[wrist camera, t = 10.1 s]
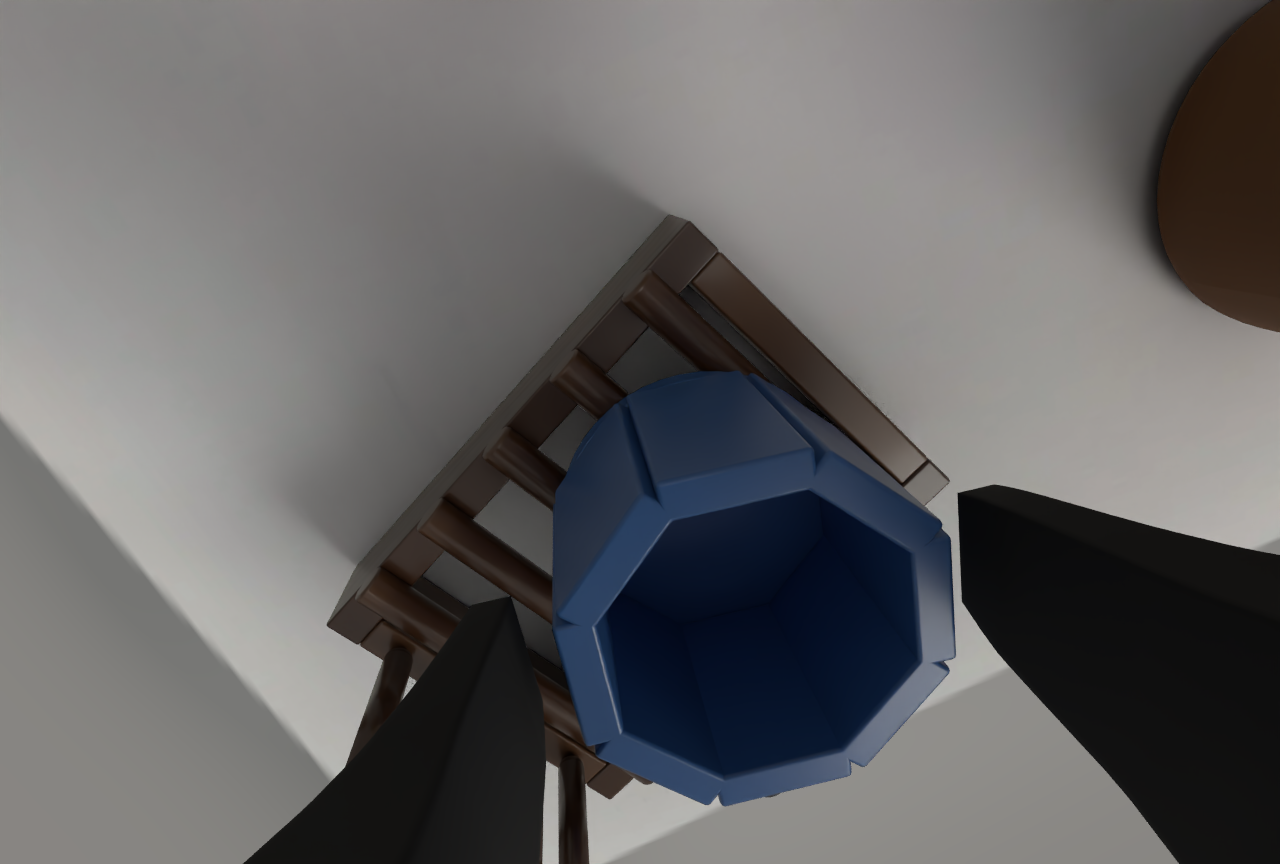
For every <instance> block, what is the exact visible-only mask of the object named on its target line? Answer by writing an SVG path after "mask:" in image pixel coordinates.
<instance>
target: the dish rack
mask: <svg viewBox="0 0 1280 864" xmlns="http://www.w3.org/2000/svg"><path fill="white" fill-rule="evenodd" d="M687 285H689V286H690V287H691V288H692V289H693V290H694V291H696V292H697V293H698V294H699V295H700V296H701V297H702V298H703V299H704V300H705V301H706V302H707V303H708V304H709V305H710V306H711V307H712V308H713V309H714V310H715V311H716V312H717V313H719V314H720V315H721V316H722V317H723V318H724V319H725V320H726V321H727V322H728V323H729V324H730V325H731V326H732V327H733V328H734V329H735V330H736V331H737V332H738V333H739V334H741V335H742V336H743V337H744V338H745V339H746V340H747V341H748V342H749V343H750V344H751V345H752V346H753V347H754V348H755V349H756V350H757V351H758V352H759V353H760V354H761V355H763V356H764V357H765V358H766V359H767V360H768V361H769V362H770V363H771V364H772V365H773V366H774V367H775V368H776V369H777V370H778V371H779V372H780V373H781V374H782V375H783V376H784V377H786V378H787V379H788V380H789V381H790V382H791V383H792V384H793V385H794V386H795V387H796V388H797V389H798V390H799V391H800V392H801V393H802V394H803V395H804V396H805V397H806V398H808V399H809V400H810V401H811V402H812V403H813V404H814V405H815V406H816V407H817V408H818V409H819V410H820V411H821V412H822V413H823V414H824V415H825V416H826V417H827V418H828V419H830V420H831V421H832V422H833V423H834V424H835V425H836V426H837V427H838V428H839V429H840V430H841V431H842V432H843V433H844V434H845V435H846V436H847V437H848V438H849V439H850V440H851V441H853V442H854V443H855V444H856V445H857V446H858V447H859V448H860V449H861V450H862V451H863V452H864V453H865V454H866V455H868V456H869V457H870V458H871V459H872V460H873V461H874V462H875V463H876V464H878V465H879V466H880V467H881V468H882V469H883V470H884V471H885V472H887V473H888V474H889V475H890V476H891V477H892V478H893V479H894V480H896V481H897V482H898V483H899V484H900V485H901V486H902V487H903V488H905V489H906V490H907V491H908V492H909V493H910V494H911V495H912V496H913V497H915V498H916V499H917V500H918V501H919V502H920V503H921V504H922V505H924V506H925V505H926V504H927V503H928V502H929V501H930V500H931V499H932V498H934V497H935V496H936V495H937V494H938V493H939V492H940V491H941V490H942V489H943V488H944V487H945V486H946V485H947V484H949V482H950V480H949V478H948V477H947V476H946V475H945V474H944V473H943V472H942V471H941V470H940V469H939V468H938V467H937V466H936V465H935V464H934V463H933V462H932V461H931V460H929V459H928V458H927V457H926V455H925V454H924V453H923V452H922V451H921V450H920V449H919V448H918V447H917V446H916V445H915V444H914V443H913V442H912V441H911V440H910V439H909V438H908V437H907V436H905V435H904V434H903V433H902V432H901V431H900V430H899V429H898V428H897V427H896V426H895V425H894V424H893V423H892V422H891V421H890V420H889V419H888V418H887V417H886V416H885V415H884V414H883V413H882V412H881V411H880V410H879V409H878V408H877V407H876V406H875V405H874V404H873V403H872V402H871V401H870V400H869V399H868V398H867V397H866V396H865V395H864V394H863V393H862V392H861V391H860V390H859V389H858V388H857V387H856V386H855V385H854V384H853V383H852V382H851V381H850V380H849V379H848V378H847V377H846V376H845V375H844V374H843V373H842V372H841V371H840V370H839V369H838V368H837V367H836V366H835V365H834V364H833V363H832V362H831V361H830V360H829V359H828V358H827V357H826V356H825V355H824V354H823V353H822V352H821V351H820V350H819V349H818V348H817V347H816V346H815V345H814V344H813V343H812V342H811V341H810V340H809V339H808V338H807V337H806V336H805V335H804V334H803V333H802V332H801V331H800V330H799V329H798V328H797V327H796V326H795V325H794V324H793V323H792V322H791V321H790V320H789V319H788V318H787V317H786V316H785V315H784V314H783V313H782V312H781V311H780V310H779V309H778V308H777V307H776V306H775V305H774V304H773V303H772V302H771V301H770V300H769V299H768V298H767V297H766V296H765V295H764V294H763V293H762V292H761V291H760V290H759V289H758V288H757V287H756V286H755V285H754V284H753V283H752V282H751V281H750V280H749V279H748V278H747V277H746V276H745V275H744V274H743V273H742V272H741V271H740V270H739V269H738V268H737V267H736V266H735V265H734V264H733V263H732V262H731V261H730V260H729V259H728V258H727V257H726V256H725V255H724V254H723V253H721V252H719V251H718V249H717V247H716V246H715V245H714V244H713V243H712V242H711V241H710V240H709V239H708V238H707V237H706V236H705V235H704V234H703V233H702V232H701V231H700V230H699V229H698V228H697V227H696V226H695V225H694V224H693V223H692V222H690V221H687V220H684V219H681V218H678V217H675V216H672V215H668V216H667V217H666V218H665V220H664V221H663V222H662V223H661V224H660V225H659V226H658V227H657V229H656V230H655V231H654V232H653V233H652V234H651V235H650V236H649V238H648V239H647V240H646V241H645V242H644V243H643V244H642V245H641V247H640V248H639V249H638V250H637V251H636V252H635V253H634V254H633V256H632V257H631V258H630V259H629V260H628V261H627V262H626V263H625V265H624V266H623V267H622V268H621V269H620V270H619V271H618V272H617V274H616V275H615V276H614V277H613V278H612V279H611V280H610V281H609V283H608V284H607V285H606V286H605V287H604V288H603V289H602V290H601V292H600V293H599V294H598V295H597V296H596V297H595V298H594V299H593V301H592V302H591V303H590V304H589V305H588V306H587V307H586V308H585V310H584V311H583V312H582V313H581V314H580V315H579V316H578V317H577V319H576V320H575V321H574V322H573V323H572V324H571V325H570V326H569V328H568V329H567V330H566V331H565V332H564V333H563V334H562V335H561V337H560V338H559V339H558V340H557V341H556V342H555V343H554V345H553V346H552V347H551V348H550V349H549V350H548V351H547V352H546V354H545V355H544V356H543V357H542V358H541V359H540V360H539V361H538V363H537V364H536V365H535V366H534V367H533V368H532V369H531V370H530V372H529V373H528V374H527V375H526V376H525V377H524V378H523V379H522V381H521V382H520V383H519V384H518V385H517V386H516V387H515V388H514V390H513V391H512V392H511V393H510V394H509V395H508V396H507V397H506V399H505V400H504V401H503V402H502V403H501V404H500V405H499V406H498V408H497V409H496V410H495V411H494V412H493V413H492V414H491V415H490V417H489V418H488V419H487V420H486V421H485V422H484V423H483V424H482V426H481V427H480V428H479V429H478V430H477V431H476V432H475V433H474V435H473V436H472V437H471V438H470V439H469V440H468V441H467V442H466V444H465V445H464V446H463V447H462V448H461V449H460V450H459V451H458V453H457V454H456V455H455V456H454V457H453V458H452V459H451V460H450V462H449V463H448V464H447V465H446V466H445V467H444V468H443V469H442V471H441V472H440V473H439V474H438V475H437V476H436V477H435V478H434V480H433V481H432V482H431V483H430V484H429V485H428V486H427V487H426V489H425V490H424V491H423V492H422V493H421V494H420V495H419V497H418V498H417V499H416V500H415V501H414V502H413V503H412V504H411V506H410V507H409V508H408V509H407V510H406V511H405V512H404V513H403V515H402V516H401V517H400V518H399V519H398V520H397V521H396V522H395V524H394V525H393V526H392V527H391V528H390V529H389V530H388V531H387V533H386V534H385V535H384V536H383V537H382V538H381V539H380V540H379V542H378V543H377V544H376V545H375V546H374V547H373V548H372V549H371V551H370V552H369V553H368V554H367V555H366V556H365V557H364V558H363V560H362V561H361V562H360V563H359V564H358V565H357V566H356V568H355V570H354V572H353V574H352V576H351V578H350V580H349V582H348V584H347V585H346V587H345V589H344V591H343V593H342V595H341V597H340V599H339V601H338V603H337V605H336V607H335V609H334V611H333V613H332V615H331V617H330V619H329V621H328V623H327V626H328V627H329V628H331V629H332V630H334V631H336V632H337V633H339V634H341V635H342V636H344V637H345V638H347V639H349V640H350V641H352V642H354V643H355V644H359V643H360V645H361V647H363V648H364V649H366V650H368V651H369V652H371V653H372V654H374V655H376V656H377V657H379V658H381V659H382V660H383V662H382V665H381V668H380V671H379V673H378V676H377V679H376V682H375V685H374V687H373V690H372V693H371V696H370V699H369V702H368V704H367V707H366V710H365V713H364V716H363V718H362V721H361V724H360V727H359V730H358V732H357V735H356V738H355V741H354V744H353V747H352V749H351V752H350V755H349V758H348V761H347V763H346V766H347V765H348V764H349V762H350V761H351V760H352V759H353V758H354V757H355V756H356V755H357V754H358V753H359V752H360V750H361V749H362V748H363V747H364V746H365V745H366V744H367V743H368V741H369V740H370V739H371V738H372V737H373V735H374V734H375V733H376V732H377V730H378V729H379V728H380V727H381V726H382V724H383V723H384V722H385V721H386V720H387V718H388V717H389V716H390V715H391V713H392V712H393V711H394V710H395V709H396V707H397V706H398V705H399V704H400V702H401V701H402V699H403V696H404V692H405V689H406V685H407V682H408V679H409V676H410V677H411V678H413V679H415V680H416V681H418V679H419V678H420V677H421V675H422V674H423V673H424V671H425V670H426V669H427V667H428V666H429V664H430V663H431V662H432V660H433V659H434V658H435V656H436V655H437V654H438V652H439V651H440V649H441V648H442V647H443V645H444V644H445V642H446V641H447V639H448V638H449V637H450V635H451V634H452V632H453V631H454V630H455V628H456V627H457V625H458V624H459V622H460V621H461V620H462V618H463V617H464V615H465V614H466V613H467V611H468V610H469V608H468V607H466V606H465V605H463V604H462V603H460V602H459V601H457V600H456V599H454V598H453V597H451V596H450V595H448V594H447V593H445V592H444V591H442V590H441V589H439V588H438V587H436V586H435V585H433V584H432V583H430V582H429V581H427V580H426V579H424V578H423V577H421V576H422V575H423V574H424V573H425V571H426V570H427V569H428V568H429V567H430V566H431V565H432V564H433V563H434V562H435V561H436V559H437V558H438V557H439V556H440V555H441V554H442V553H443V552H444V551H446V552H448V553H449V554H451V555H452V556H454V557H455V558H457V559H458V560H459V561H461V562H462V563H464V564H465V565H467V566H468V567H470V568H471V569H472V570H474V571H475V572H477V573H478V574H480V575H481V576H483V577H484V578H485V579H487V580H488V581H490V582H491V583H493V584H494V585H496V586H497V587H498V588H500V589H501V590H503V591H504V592H506V593H507V594H508V595H510V596H511V597H513V598H514V599H516V600H517V601H519V602H520V603H521V604H523V605H524V606H526V607H527V608H529V609H530V610H532V611H533V612H534V613H536V614H537V615H539V616H540V617H542V618H543V619H545V620H546V621H547V622H549V623H550V624H552V579H553V577H552V576H551V575H549V574H548V573H546V572H545V571H544V570H542V569H541V568H540V567H538V566H537V565H535V564H534V563H533V562H531V561H530V560H528V559H527V558H526V557H524V556H523V555H521V554H520V553H519V552H517V551H516V550H515V549H513V548H512V547H510V546H509V545H508V544H506V543H505V542H503V541H502V540H501V539H499V538H498V537H496V536H495V535H494V534H492V533H491V532H490V531H488V530H487V529H485V528H484V527H483V526H481V525H480V524H478V523H477V522H476V521H474V520H473V519H474V518H475V517H476V516H477V515H478V514H479V512H480V511H481V510H482V509H483V508H484V507H485V506H486V505H487V504H488V503H489V501H490V500H491V499H492V498H493V497H494V496H495V495H496V494H497V493H498V492H499V491H500V489H501V488H502V487H503V486H504V485H505V484H506V483H507V482H508V481H509V480H511V481H513V482H514V483H515V484H516V485H518V486H519V487H520V488H522V489H523V490H524V491H526V492H527V493H528V494H530V495H531V496H532V497H534V498H535V499H536V500H538V501H539V502H540V503H542V504H543V505H544V506H546V507H547V508H548V509H550V510H551V511H552V512H553V505H554V504H555V493H556V490H557V488H558V487H559V485H560V484H561V482H562V481H563V479H564V478H565V476H566V474H567V471H566V470H564V469H563V468H562V467H560V466H559V465H558V464H557V463H555V462H554V461H553V460H552V459H550V458H549V457H548V456H546V455H545V454H544V453H543V452H541V451H540V450H539V449H538V448H539V447H540V446H541V445H542V444H543V442H544V441H545V440H546V439H547V438H548V437H549V436H550V435H551V434H552V433H553V431H554V430H555V429H556V428H557V427H558V426H559V425H560V424H561V423H562V422H563V421H564V419H565V418H566V417H567V416H568V415H569V414H570V413H571V412H572V411H573V410H574V409H575V407H576V406H577V405H578V406H580V407H581V408H582V409H583V410H584V411H586V412H587V413H588V414H589V415H590V416H592V417H593V418H594V419H595V420H597V421H598V420H599V419H600V418H601V417H602V416H603V415H604V414H605V413H606V412H607V411H608V410H609V409H610V408H612V407H613V405H614V404H616V403H618V402H619V401H621V400H622V399H623V398H625V397H627V396H628V395H629V393H628V392H627V391H626V390H624V389H623V388H622V387H621V386H620V385H619V384H617V383H616V382H615V381H614V380H613V379H612V378H610V377H609V376H608V375H607V372H608V371H609V370H610V369H611V368H612V367H613V366H614V365H615V364H616V363H617V362H618V360H619V359H620V358H621V357H622V356H623V355H624V354H625V353H626V352H627V351H628V349H629V348H630V347H631V346H632V345H633V344H634V343H635V342H636V341H637V340H638V339H639V337H640V336H641V335H642V334H643V333H644V332H645V331H646V330H647V329H648V328H649V327H650V328H651V329H652V330H653V331H654V332H655V333H656V334H657V335H658V336H660V337H661V338H662V339H663V340H664V341H665V342H666V343H667V344H668V345H669V346H671V347H672V348H673V349H674V350H675V351H676V352H677V353H678V354H679V355H680V356H682V357H683V358H684V359H685V360H686V361H687V362H688V363H689V364H690V365H691V366H693V367H694V368H695V369H696V370H697V371H698V372H700V371H722V372H732V371H736V370H737V371H740V372H741V373H742V374H743V375H747V376H748V375H749V374H751V373H754V374H756V375H758V376H759V377H761V378H762V379H764V380H765V381H767V382H768V383H770V384H772V385H774V384H773V383H772V382H770V381H769V380H768V379H767V378H766V377H765V376H764V375H763V374H762V373H761V372H760V371H759V370H758V369H757V368H756V367H755V366H754V365H752V364H751V363H750V362H749V361H748V360H747V359H746V358H745V357H744V356H743V355H742V354H741V353H740V352H739V351H738V350H737V349H735V348H734V347H733V346H732V345H731V344H730V343H729V342H728V341H727V340H726V339H725V338H724V337H723V336H722V335H721V334H720V333H719V332H717V331H716V330H715V329H714V328H713V327H712V326H711V325H710V324H709V323H708V322H707V321H706V320H705V319H704V318H703V317H702V316H701V315H699V314H698V313H697V312H696V311H695V310H694V309H693V308H692V307H691V306H690V305H689V304H688V303H687V302H686V301H685V300H684V299H683V298H681V297H680V296H679V294H680V293H681V292H682V290H683V289H684V288H685V287H686V286H687ZM774 386H775V385H774ZM527 650H528V654H529V657H530V660H531V664H532V667H533V670H534V673H535V677H536V680H537V683H538V687H539V690H540V693H541V696H542V700H543V712H544V729H545V749H546V761H548V762H550V763H551V764H553V765H554V766H556V767H558V805H559V864H589V850H588V830H587V810H586V790H585V784H586V783H587V786H588V787H590V788H592V789H593V790H595V791H596V792H598V793H600V794H601V795H603V796H605V797H606V798H608V799H612V798H613V797H614V796H615V795H616V794H617V793H618V792H619V791H620V790H621V789H622V788H624V787H625V786H626V785H627V784H628V783H629V782H630V781H631V780H632V779H633V778H635V779H636V780H638V781H639V782H641V783H643V784H647V785H648V784H651V783H653V782H652V781H650V780H648V779H645V778H643V777H641V776H638V775H636V774H634V773H632V772H629V771H627V770H625V769H623V768H620V767H618V766H616V765H613V764H611V763H609V762H607V761H604V760H602V759H600V758H598V757H597V756H596V755H595V747H594V745H592V746H587V745H586V744H585V743H584V741H583V737H582V734H581V730H580V727H579V723H578V720H577V716H576V713H575V709H574V706H573V702H572V699H571V695H570V692H569V688H568V685H567V681H566V678H565V674H564V672H563V671H561V670H560V669H558V668H557V667H555V666H554V665H552V664H551V663H549V662H548V661H547V660H545V659H544V658H542V657H541V656H539V655H538V654H536V653H535V652H533V651H532V650H530V649H529V648H527ZM346 766H345V767H346ZM542 848H543V816H542V830H541V844H540V858H539V864H542Z"/></svg>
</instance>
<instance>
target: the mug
mask: <svg viewBox="0 0 1280 864" xmlns="http://www.w3.org/2000/svg"><path fill="white" fill-rule="evenodd" d="M1157 208H1158V222H1159V227H1160V232H1161V237H1162V241H1163V244H1164V247H1165V250H1166V253H1167V256H1168V258H1169V260H1170V262H1171V263H1172V265H1173V267H1174V269H1175V271H1176V273H1177V274H1178V275H1179V277H1180V278H1181V280H1182V281H1183V282H1184V283H1185V285H1186V286H1187V287H1188V289H1189V290H1190V291H1191V292H1192V293H1193V294H1194V295H1195V296H1196V297H1198V298H1199V299H1200V300H1201V301H1202V302H1203V303H1205V304H1206V305H1208V306H1210V307H1211V308H1213V309H1214V310H1216V311H1218V312H1220V313H1222V314H1224V315H1226V316H1228V317H1230V318H1233V319H1235V320H1238V321H1240V322H1243V323H1246V324H1249V325H1253V326H1256V327H1259V328H1263V329H1268V330H1272V331H1276V332H1280V0H1272V1H1271V2H1269V3H1268V4H1266V5H1265V6H1264V7H1262V8H1261V9H1260V10H1259V11H1258V12H1256V13H1255V14H1254V15H1253V16H1252V17H1250V18H1249V19H1248V20H1247V21H1246V22H1245V23H1244V24H1243V25H1242V26H1241V27H1240V28H1239V29H1238V30H1237V31H1236V32H1235V33H1234V34H1233V35H1232V36H1231V37H1230V38H1229V39H1228V40H1227V41H1226V42H1225V43H1224V44H1223V45H1222V46H1221V47H1220V48H1219V49H1218V51H1217V52H1216V53H1215V54H1214V56H1213V57H1212V58H1211V59H1210V61H1209V62H1208V63H1207V64H1206V66H1205V67H1204V68H1203V70H1202V71H1201V73H1200V74H1199V76H1198V77H1197V79H1196V80H1195V82H1194V83H1193V85H1192V86H1191V88H1190V90H1189V92H1188V93H1187V95H1186V97H1185V99H1184V101H1183V103H1182V105H1181V107H1180V109H1179V111H1178V113H1177V115H1176V118H1175V120H1174V123H1173V125H1172V128H1171V130H1170V133H1169V136H1168V139H1167V143H1166V146H1165V149H1164V153H1163V156H1162V162H1161V167H1160V173H1159V178H1158V193H1157Z"/></svg>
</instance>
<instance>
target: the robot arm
mask: <svg viewBox="0 0 1280 864" xmlns="http://www.w3.org/2000/svg"><path fill="white" fill-rule="evenodd" d="M958 516H959V541H960V565H961V590H962V602H963V604H964V605H965V607H966V608H967V610H968V611H969V613H970V614H971V616H972V617H973V619H974V620H975V622H976V623H977V625H978V626H979V628H980V629H981V631H982V632H983V633H984V635H985V636H986V638H987V639H988V640H989V642H990V643H991V644H992V646H993V647H994V649H995V650H996V651H997V653H998V654H999V655H1000V656H1001V657H1002V658H1003V660H1004V661H1005V662H1006V663H1007V664H1008V665H1009V666H1010V667H1011V669H1012V670H1013V671H1014V672H1015V673H1016V674H1017V675H1018V676H1019V677H1020V678H1021V680H1022V681H1023V682H1024V683H1025V684H1026V685H1027V686H1028V687H1029V688H1030V690H1031V691H1032V692H1033V693H1034V694H1035V695H1036V696H1037V697H1038V698H1039V699H1040V700H1041V701H1042V703H1043V704H1044V705H1045V706H1046V707H1047V708H1048V709H1049V710H1050V711H1051V712H1052V713H1053V714H1054V715H1055V717H1056V718H1057V719H1058V720H1060V722H1061V723H1062V724H1063V725H1064V726H1065V727H1066V728H1067V730H1069V732H1070V733H1071V734H1072V735H1073V736H1074V737H1075V738H1076V739H1077V740H1078V741H1079V742H1080V743H1081V745H1082V746H1083V747H1084V748H1085V749H1086V750H1087V751H1088V752H1089V753H1090V754H1091V755H1092V756H1093V758H1094V759H1095V760H1096V761H1097V762H1098V763H1099V764H1100V765H1101V766H1102V767H1103V768H1104V770H1105V771H1106V772H1107V773H1108V774H1109V775H1110V776H1111V777H1112V779H1113V780H1114V781H1115V782H1116V784H1118V786H1119V787H1120V788H1121V789H1122V791H1123V792H1124V793H1125V794H1126V795H1127V796H1128V798H1129V799H1130V800H1131V801H1132V802H1133V804H1134V805H1135V806H1136V808H1137V809H1138V810H1139V812H1140V813H1141V814H1142V816H1143V817H1144V818H1145V820H1146V821H1147V822H1148V824H1149V825H1150V826H1151V828H1152V829H1153V830H1154V831H1155V833H1156V834H1157V835H1158V837H1159V838H1160V839H1161V841H1162V842H1163V843H1164V845H1166V847H1167V848H1168V850H1169V851H1170V852H1171V854H1172V855H1173V856H1174V858H1175V859H1176V860H1177V862H1179V864H1280V555H1276V554H1271V553H1265V552H1260V551H1255V550H1250V549H1245V548H1241V547H1236V546H1231V545H1227V544H1222V543H1218V542H1214V541H1210V540H1206V539H1201V538H1197V537H1193V536H1189V535H1185V534H1181V533H1176V532H1172V531H1168V530H1165V529H1161V528H1157V527H1153V526H1149V525H1146V524H1142V523H1138V522H1135V521H1131V520H1127V519H1124V518H1120V517H1117V516H1113V515H1109V514H1106V513H1102V512H1099V511H1095V510H1092V509H1088V508H1085V507H1081V506H1078V505H1074V504H1071V503H1067V502H1064V501H1060V500H1057V499H1053V498H1050V497H1046V496H1043V495H1039V494H1035V493H1031V492H1028V491H1024V490H1020V489H1015V488H1011V487H1006V486H1000V485H990V486H986V487H982V488H977V489H973V490H969V491H964V492H960V493H958ZM545 771H546V749H545V729H544V712H543V700H542V696H541V693H540V690H539V687H538V683H537V680H536V677H535V673H534V670H533V667H532V664H531V660H530V657H529V654H528V650H527V647H526V644H525V641H524V637H523V634H522V631H521V627H520V624H519V621H518V618H517V614H516V611H515V608H514V604H513V601H512V598H511V596H509V597H505V598H501V599H496V600H492V601H488V602H483V603H479V604H475V605H472V606H471V607H470V609H469V610H468V611H467V613H466V614H465V615H464V617H463V618H462V620H461V621H460V622H459V624H458V625H457V627H456V628H455V630H454V631H453V632H452V634H451V635H450V637H449V638H448V639H447V641H446V642H445V644H444V645H443V647H442V648H441V649H440V651H439V652H438V654H437V655H436V656H435V658H434V659H433V660H432V662H431V663H430V664H429V666H428V667H427V669H426V670H425V671H424V673H423V674H422V675H421V677H420V678H419V679H418V681H417V682H416V683H415V685H414V686H413V688H412V689H411V690H410V691H409V693H408V694H407V695H406V696H405V698H404V699H403V700H402V701H401V702H400V704H399V705H398V706H397V707H396V709H395V710H394V711H393V712H392V713H391V715H390V716H389V717H388V718H387V720H386V721H385V722H384V723H383V724H382V726H381V727H380V728H379V729H378V730H377V732H376V733H375V734H374V735H373V737H372V738H371V739H370V740H369V741H368V743H367V744H366V745H365V746H364V747H363V748H362V749H361V750H360V752H359V753H358V754H357V755H356V756H355V757H354V758H353V759H352V760H351V761H350V762H349V764H348V765H347V766H346V767H345V768H344V769H343V770H342V771H341V772H340V773H339V774H338V775H337V776H336V777H335V778H334V779H333V780H332V781H331V782H330V783H329V784H328V785H327V786H326V787H325V789H324V790H323V791H321V793H320V794H319V795H318V796H317V797H316V798H315V799H314V800H313V801H312V802H310V804H308V805H307V807H305V808H304V809H303V810H302V811H301V812H300V813H299V814H298V815H297V816H296V817H294V818H293V819H292V820H291V821H290V822H289V823H288V824H287V825H286V826H284V828H282V829H281V830H280V831H279V832H278V833H277V834H276V835H274V836H273V837H272V838H271V839H270V840H269V841H268V842H267V843H266V844H264V845H263V846H262V847H261V848H260V849H259V850H258V851H257V852H256V853H254V855H252V856H251V857H250V858H249V859H248V860H247V861H246V862H244V863H243V864H539V858H540V844H541V830H542V816H543V802H544V787H545Z"/></svg>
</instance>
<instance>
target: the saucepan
mask: <svg viewBox="0 0 1280 864" xmlns="http://www.w3.org/2000/svg"><path fill="white" fill-rule="evenodd" d="M941 528H942V523H941V521H940V520H939V519H938V518H937V517H936V516H935V515H934V514H933V513H931V512H930V511H929V510H928V509H927V508H926V507H925V506H924V505H922V504H921V503H920V502H919V501H918V500H917V499H916V498H915V497H913V496H912V495H911V494H910V493H909V492H908V491H907V490H906V489H905V488H903V487H902V486H901V485H900V484H899V483H898V482H897V481H896V480H894V479H893V478H892V477H891V476H890V475H889V474H888V473H887V472H885V471H884V470H883V469H882V468H881V467H880V466H879V465H878V464H876V463H875V462H874V461H873V460H872V459H871V458H870V457H869V456H868V455H866V454H865V453H864V452H863V451H862V450H861V449H860V448H859V447H857V446H856V445H855V444H854V443H853V442H852V441H851V440H850V439H848V438H847V437H846V436H845V435H844V434H843V433H842V432H841V431H839V430H838V429H837V428H836V427H835V426H833V425H832V424H830V423H829V422H827V421H826V420H824V419H823V418H821V417H819V416H818V415H816V414H815V413H813V412H812V411H810V410H809V409H807V408H806V407H804V406H803V405H802V404H801V403H800V402H798V401H797V400H796V399H795V398H793V397H792V396H791V395H789V394H788V393H787V392H785V391H783V390H781V389H780V388H778V387H776V386H774V385H772V384H770V383H768V382H767V381H765V380H764V379H762V378H761V377H759V376H758V375H756V374H754V373H751V374H749V375H748V376H747V375H743V374H742V373H741V372H740V371H737V370H736V371H732V372H722V371H700V372H692V373H686V374H679V375H675V376H672V377H668V378H665V379H661V380H658V381H656V382H654V383H651V384H649V385H647V386H644V387H642V388H640V389H638V390H637V391H635V392H633V393H632V394H629V395H628V396H627V397H625V398H623V399H622V400H621V401H619V402H618V403H616V404H614V405H613V407H612V408H610V409H609V410H608V411H607V412H606V413H605V414H604V415H603V416H602V417H601V418H600V419H599V420H598V421H597V422H596V423H595V424H594V425H593V427H592V428H591V429H590V431H589V432H588V433H587V434H586V436H585V437H584V438H583V440H582V442H581V443H580V445H579V447H578V449H577V450H576V452H575V454H574V456H573V458H572V461H571V463H570V466H569V468H568V471H567V474H566V476H565V478H564V479H563V481H562V482H561V484H560V485H559V487H558V488H557V490H556V493H555V504H554V505H553V579H552V632H553V636H554V639H555V643H556V646H557V650H558V653H559V657H560V660H561V664H562V667H563V671H564V674H565V678H566V681H567V685H568V688H569V692H570V695H571V699H572V702H573V706H574V709H575V713H576V716H577V720H578V723H579V727H580V730H581V734H582V737H583V741H584V743H585V744H586V745H587V746H592V745H594V747H595V755H596V756H597V757H598V758H600V759H602V760H604V761H607V762H609V763H611V764H613V765H616V766H618V767H620V768H623V769H625V770H627V771H629V772H632V773H634V774H636V775H638V776H641V777H643V778H645V779H648V780H650V781H652V782H654V783H657V784H659V785H661V786H663V787H666V788H668V789H670V790H673V791H675V792H677V793H679V794H682V795H684V796H686V797H689V798H691V799H693V800H695V801H698V802H700V803H702V804H704V805H709V804H711V802H712V801H713V800H714V799H715V798H716V797H717V795H718V797H719V801H720V803H721V804H722V805H723V806H729V805H733V804H737V803H741V802H745V801H749V800H754V799H757V798H762V797H773V796H776V795H778V794H780V793H782V792H786V791H790V790H794V789H798V788H803V787H806V786H811V785H814V784H819V783H823V782H827V781H831V780H835V779H839V778H843V777H847V776H850V775H851V762H853V763H855V764H857V765H859V766H861V767H865V766H867V764H868V763H869V762H870V761H871V760H872V759H873V758H874V757H875V755H876V754H877V753H878V752H879V751H880V750H881V749H882V748H883V746H884V745H885V744H886V743H887V742H888V741H889V740H890V739H891V738H892V736H893V735H894V734H895V733H896V732H897V731H898V729H900V727H901V726H902V725H903V724H904V723H905V722H906V721H907V720H908V719H909V717H910V716H911V715H912V714H913V713H914V712H915V711H916V710H917V708H918V707H919V706H920V705H921V704H922V703H923V702H924V701H925V699H926V698H927V697H928V696H929V695H930V694H931V693H932V692H933V691H934V689H935V688H936V687H937V686H938V685H939V684H940V683H941V682H942V680H943V679H944V678H945V677H946V676H947V675H948V674H949V671H950V670H949V668H948V666H947V665H946V664H945V662H944V661H946V660H951V659H953V658H955V656H956V646H955V624H954V601H953V579H952V557H951V539H950V537H949V535H948V534H947V533H946V532H944V531H943V530H942V529H941ZM850 761H851V762H850Z"/></svg>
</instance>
